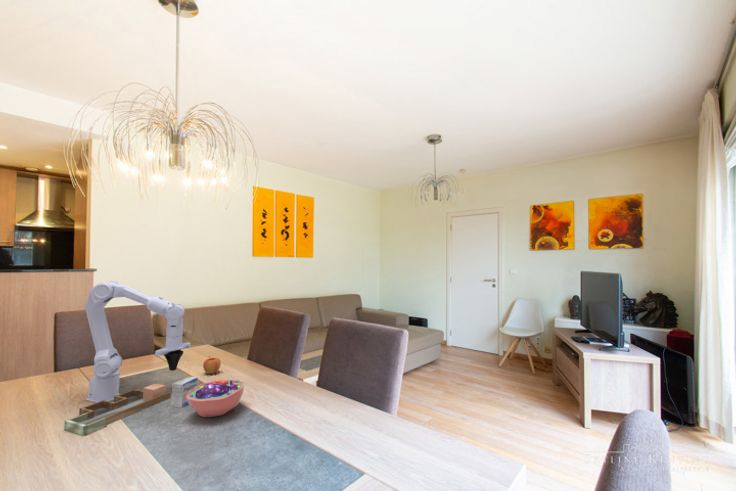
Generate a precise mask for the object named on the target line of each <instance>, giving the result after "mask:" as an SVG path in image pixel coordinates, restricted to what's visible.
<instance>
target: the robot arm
mask: <svg viewBox="0 0 736 491" xmlns="http://www.w3.org/2000/svg"><path fill="white" fill-rule="evenodd" d="M115 298H125V299H129V300H132V301H134V302H138V303H141V304H142V305H145V307H146V308H147V310H148V311H151V312H153V313H156V314H158V315H160V316H162V317H165V319H166V321H167V322H166V332H165V333H166V334H165V335H166V336H165V346H164V347H162V348H160V349H157V350H155V351H154V356H155V357H161V356H162V355H163V356H164V358H165V359H166V362H167V364H168V369H169V371H172V372H173V371H176V370H177V367H178V366H179V365H178V364H179V362H180V359H181V357H182V356H183V354H184V350H185V349H190V348H191V345H192V343H191V342H183V333H184V331H183V330H184V317H183V316H184V315H185V313H186V312H185V311H186V310H185V308H184V306H182V305H181V304H179V303H178V304H176V302H173V301H172V302H171V301H168V300H166V299H164V297H163V296H161V295H160V296H153V297H151V296H149V295H146V294H145V293H142V292H140V291H138V290H136V289H134V288H132V287H130V286H128V285H125V284H124V283H119V282H118V281H115V280H110V281H108V282H107V281H106V282H99V283H97V284H95V285H94V286H93V287H92V288H91V289H90V290H89V295H88V298H87V300H86V303H85V304H84V309H85V313H86V318H87V321H88V325H89V330H90V334H91V337H92V342H93V345H94V350H95V356H94V359H93V361H94V362H93V363H94V366H93V369H92V371H93V374H94V375H93V376H92V377H91V378H90V380H89V384H88V397H87V398H85V401H88V402H89V401H90V402H94V403H97V402H100V401H102V400H107V401H111V402H112V401H114V396H116V395H119V394H120V393H119V391H120V376H121V375H120V374H121V373H120V367H122V365H123V357H122V356H121V355H120V354H119V352H118V350H117V349H116V348H115V347H114V344H113V341H112V337H111V331H110V328H109V325H108V324H109V323H108V320H107V316H106V315H107V314H106V311H105V307H106V306H107V304H109V302H110V301H111V300H113V299H115Z"/></svg>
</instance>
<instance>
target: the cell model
mask: <svg viewBox="0 0 736 491" xmlns="http://www.w3.org/2000/svg"><path fill="white" fill-rule="evenodd" d="M244 387H245V383H244V382H243V381H241V380H238V379H227V380H223V379H222V380H212V381H210V382H204V383H201V384H199V385H197V387H196V388H195V389H193V390H191V391H190V392H188V393H187V395H186V398H187V400H188V402H189V404H188V405H189V406H190V407H191V408H192V409H193V410H194V412H195V413H196V414H198V415H199V416H200V417H203V418H211V417H212V418H213V417H215V418H216V417H220V416H223V415H225V414H226V413H228V412H230V411H231V410H233V409H234V408H235V407H237V406H238V405H239V403H240V401H241V399H242V396H243V393H244Z"/></svg>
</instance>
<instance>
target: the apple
mask: <svg viewBox="0 0 736 491" xmlns="http://www.w3.org/2000/svg"><path fill="white" fill-rule="evenodd" d="M202 367H203V370H204V371H205V373H206V374H208V375H210V374H211V375H214V374H215V373H217V372H218V371H219V370H220V368H221V360H220V359H219V358H217V357H210V355H209V356H208V359H205V361H203V366H202Z"/></svg>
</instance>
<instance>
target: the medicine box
mask: <svg viewBox="0 0 736 491" xmlns="http://www.w3.org/2000/svg"><path fill="white" fill-rule="evenodd" d="M198 381H199V380H198V377H197V376H186V377H184V378H183V379H182V378H181V379H180V380H178V381H176V382H174V383H172V386H171V389H172V390H171V407H172V408H173V407H175V408H184V407H185V406H187V405H190V404H189V402H188V400H187V398H186V395H187V393H188V392H190V391H191V390H193V389H195V388H196V387H197V386H198Z"/></svg>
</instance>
